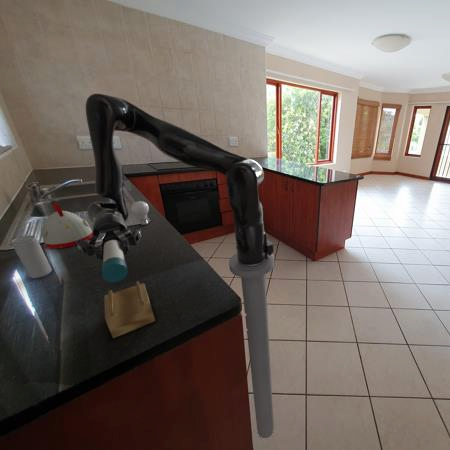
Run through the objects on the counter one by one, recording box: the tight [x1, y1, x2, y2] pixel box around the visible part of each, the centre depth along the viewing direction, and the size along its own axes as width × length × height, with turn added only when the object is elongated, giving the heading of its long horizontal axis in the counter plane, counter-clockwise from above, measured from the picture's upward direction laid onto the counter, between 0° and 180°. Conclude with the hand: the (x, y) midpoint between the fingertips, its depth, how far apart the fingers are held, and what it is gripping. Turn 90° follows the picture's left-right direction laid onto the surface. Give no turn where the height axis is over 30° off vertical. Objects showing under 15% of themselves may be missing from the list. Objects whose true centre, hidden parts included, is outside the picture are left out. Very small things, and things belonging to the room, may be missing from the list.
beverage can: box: [11, 235, 53, 279], centre depth 69 cm, size 5×5×12 cm
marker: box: [101, 240, 129, 283], centre depth 52 cm, size 15×4×4 cm, turn 38°
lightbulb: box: [131, 200, 150, 226], centre depth 104 cm, size 6×6×11 cm
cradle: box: [103, 280, 156, 339], centre depth 55 cm, size 8×9×6 cm
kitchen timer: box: [40, 202, 93, 249], centre depth 89 cm, size 14×14×15 cm
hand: (113, 253), depth 54 cm, fingers closed on marker, 3 cm apart
